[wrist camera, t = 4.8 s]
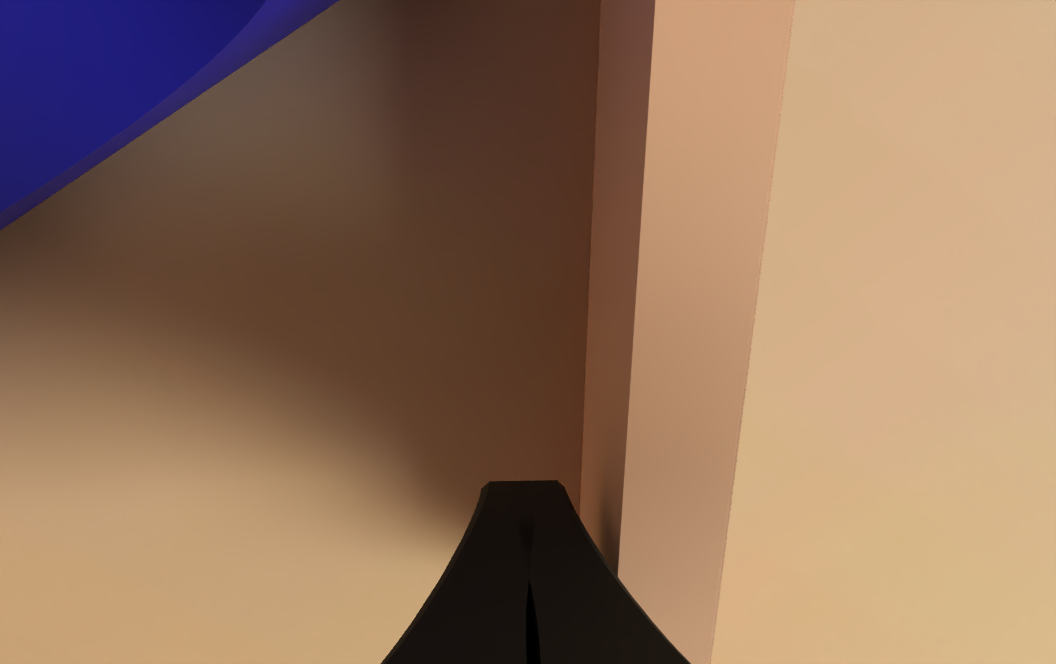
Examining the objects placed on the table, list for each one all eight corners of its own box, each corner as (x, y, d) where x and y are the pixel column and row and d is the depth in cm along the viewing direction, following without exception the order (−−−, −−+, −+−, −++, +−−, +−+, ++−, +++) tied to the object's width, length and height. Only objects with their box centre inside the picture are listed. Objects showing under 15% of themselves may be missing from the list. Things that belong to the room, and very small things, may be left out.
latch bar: (661, 594, 14) (727, 832, 10) (553, 596, 14) (574, 836, 10) (773, -607, 8) (1045, -1239, 4) (586, -614, 8) (671, -1264, 4)
